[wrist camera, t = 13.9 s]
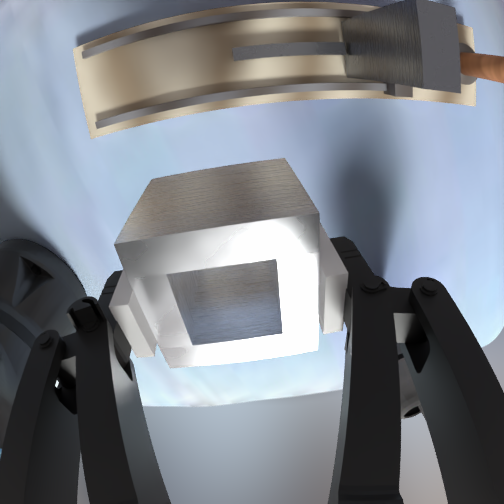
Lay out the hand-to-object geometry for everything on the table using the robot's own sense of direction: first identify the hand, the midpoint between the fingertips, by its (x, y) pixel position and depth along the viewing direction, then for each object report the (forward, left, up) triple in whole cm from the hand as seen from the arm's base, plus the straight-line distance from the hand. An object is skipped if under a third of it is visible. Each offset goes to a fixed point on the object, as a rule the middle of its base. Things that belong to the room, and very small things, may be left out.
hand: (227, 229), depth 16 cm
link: (0, 0, 0) cm, 0 cm away
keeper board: (+7, +9, -11) cm, 16 cm away
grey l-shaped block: (+7, +9, -9) cm, 15 cm away
